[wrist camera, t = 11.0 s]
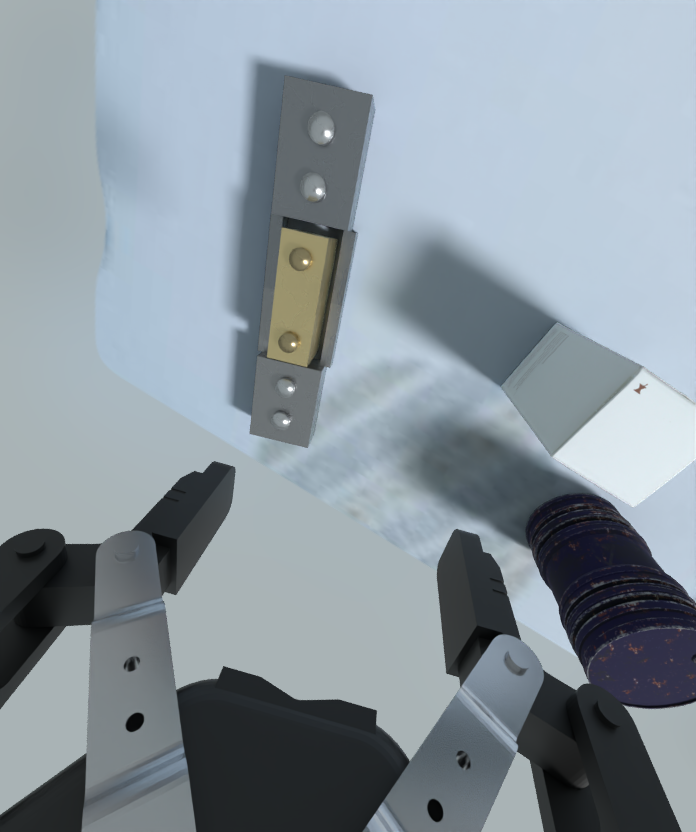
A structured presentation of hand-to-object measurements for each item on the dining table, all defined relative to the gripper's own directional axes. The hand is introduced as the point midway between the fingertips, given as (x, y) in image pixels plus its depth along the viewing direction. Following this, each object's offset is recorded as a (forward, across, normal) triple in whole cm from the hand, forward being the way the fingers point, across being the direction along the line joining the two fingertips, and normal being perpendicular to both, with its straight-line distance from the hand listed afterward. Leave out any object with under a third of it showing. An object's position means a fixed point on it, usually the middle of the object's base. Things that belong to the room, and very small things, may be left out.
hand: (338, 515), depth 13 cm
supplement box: (+24, -16, -1) cm, 29 cm away
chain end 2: (+24, +7, +4) cm, 25 cm away
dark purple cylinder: (+24, -26, +14) cm, 38 cm away
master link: (+24, +7, -3) cm, 25 cm away
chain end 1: (+24, +8, -10) cm, 27 cm away
